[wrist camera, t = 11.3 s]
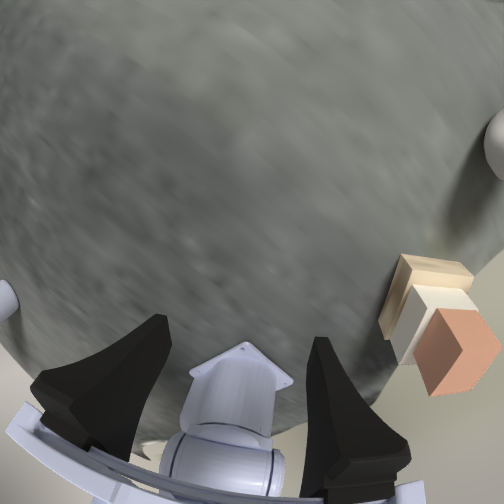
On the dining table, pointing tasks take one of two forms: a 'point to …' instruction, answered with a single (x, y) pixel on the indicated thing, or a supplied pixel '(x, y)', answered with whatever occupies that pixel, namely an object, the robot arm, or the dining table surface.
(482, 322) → the terracotta cube
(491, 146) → the donut
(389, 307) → the birch base block
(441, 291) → the cream top block
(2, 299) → the spray bottle
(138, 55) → the dining table surface
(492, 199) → the dining table surface
